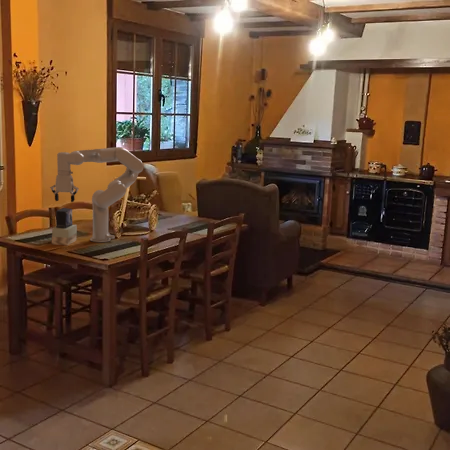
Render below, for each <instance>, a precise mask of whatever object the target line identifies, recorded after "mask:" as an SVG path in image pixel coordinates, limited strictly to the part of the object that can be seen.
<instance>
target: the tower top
mask: <svg viewBox="0 0 450 450" xmlns="http://www.w3.org/2000/svg"><path fill="white" fill-rule="evenodd" d="M77 226H78V225H77V224H72V225H71V226H69V227H67V228H56V226H54V227H53V228H52V229H51V231H52V232H51V238H52V237H64V238H69V237H71V236H72V235H74V234H76V235H77V233H78V227H77Z"/></svg>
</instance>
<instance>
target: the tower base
mask: <svg viewBox="0 0 450 450" xmlns="http://www.w3.org/2000/svg"><path fill="white" fill-rule="evenodd" d="M76 241H77V233H76V234H74V235H72V236H71V237H69V238H64V237H52V236H51V245H55V246H57V245H58V246H69V245H71V244H72V243H74V242H76Z"/></svg>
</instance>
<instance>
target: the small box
mask: <svg viewBox="0 0 450 450" xmlns="http://www.w3.org/2000/svg"><path fill="white" fill-rule="evenodd" d="M55 217H56V218H55V221H56V223H55V224H56V225H55V227H56V228H67V227H69V226H71V225H73V209H72V208H67V207H62V208H60V209H57V210H56V211H55Z"/></svg>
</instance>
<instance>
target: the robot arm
mask: <svg viewBox="0 0 450 450" xmlns="http://www.w3.org/2000/svg"><path fill="white" fill-rule="evenodd" d="M56 157H57V160H56V161H57V163H56V164H57V175H56V177H55V184H54V185H52V186H50V187H49V188H50V190H51V192H52V193H53V195H54V200H55V202H58V201H59V198H60V196H59V193H70V203H73V202H75V200H76V199H75V196H76V194H77V193H78V191H79V187H77V186H75V184H74V178H73V174H74V173H73V172H74V171H72V170H71V165H75V166H81V165H82V164H84V163H97V164H98V163H99V164H103V163H111V162H119V163H120V164H121V165H123V166H124V167H125V168H126V169H125V171H124V172H123V173H122V174H121V175H119V176H118V177H117V178H116V179H114V180H112V181H110V182H109V183H108V185H107V188H106V189H105V190H102V189H97V190H96V191H94V192H93V194H92V197H91V203H92V204H91V205H92V236H91V237H90V239H89V240H90V241H91V242H93V243H107V242H111V241H112V240H111V239H115V237H116V236H115V235H114V234H110V232H109V207H110V206H112V205H113V204H116V202H117V201H119V200H120V199H122V198H123V197H124V196H125V195H126V193H127V189H128V188H129V187H131V186H132V185H133V184H134V183H135V182H136V181H137V179H138V176H139V174H140V173H142V172H143V170H144V167H145V165H144V162H142V160H141V159H139V158H138V157H136V156H135V155H134V154H133V153H131V152H130V151H129V150H127V149H126V148H124V147H121V146H116V147H105V148H94V149H93V148H92V149H81V150H74V151H71V152H66V151H60V152H58V153H57V156H56ZM54 188H55V189H54Z"/></svg>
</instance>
